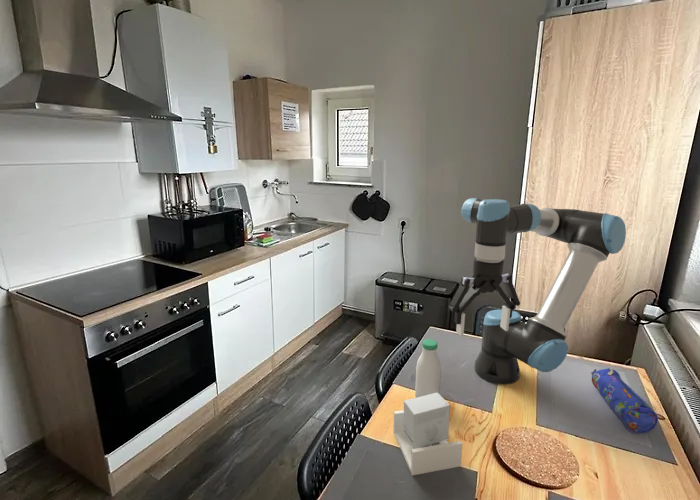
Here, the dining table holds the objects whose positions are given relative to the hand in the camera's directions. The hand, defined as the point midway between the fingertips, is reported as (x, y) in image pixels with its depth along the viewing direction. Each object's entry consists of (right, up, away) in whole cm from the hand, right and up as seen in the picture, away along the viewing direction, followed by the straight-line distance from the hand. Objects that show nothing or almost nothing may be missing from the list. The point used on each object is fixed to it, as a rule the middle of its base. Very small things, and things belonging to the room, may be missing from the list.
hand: (482, 331), depth 106 cm
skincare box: (-17, -27, -5) cm, 32 cm away
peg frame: (-17, -31, -4) cm, 35 cm away
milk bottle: (-12, -25, +17) cm, 33 cm away
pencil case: (+46, -27, +11) cm, 54 cm away
